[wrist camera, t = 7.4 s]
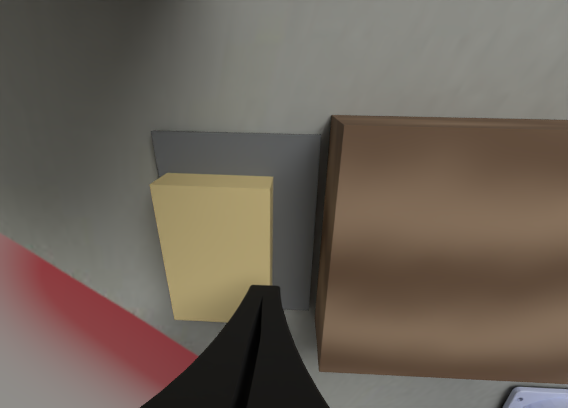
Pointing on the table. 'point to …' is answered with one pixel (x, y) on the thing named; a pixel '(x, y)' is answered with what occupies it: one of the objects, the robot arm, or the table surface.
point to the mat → (286, 189)
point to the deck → (445, 249)
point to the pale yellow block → (213, 240)
